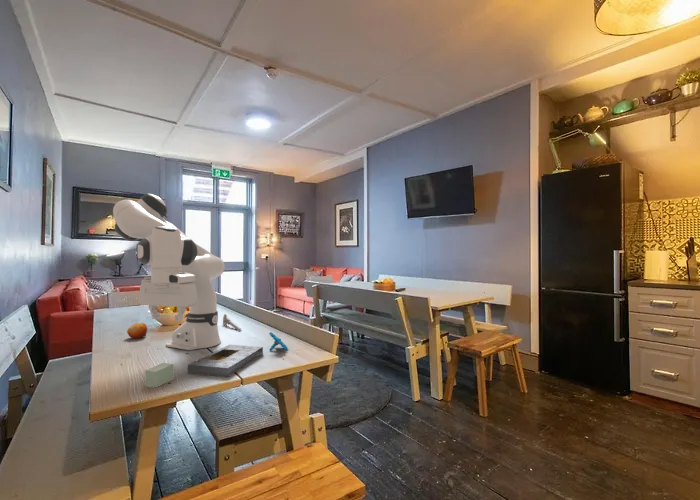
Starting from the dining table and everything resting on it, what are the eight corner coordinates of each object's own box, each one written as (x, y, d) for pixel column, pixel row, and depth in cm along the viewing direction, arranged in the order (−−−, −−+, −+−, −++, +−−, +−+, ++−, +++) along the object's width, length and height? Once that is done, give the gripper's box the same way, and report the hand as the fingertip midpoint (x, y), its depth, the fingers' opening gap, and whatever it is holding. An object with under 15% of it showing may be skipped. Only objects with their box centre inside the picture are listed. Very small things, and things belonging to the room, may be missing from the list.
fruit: (154, 333, 162) (145, 320, 159) (139, 344, 157) (130, 332, 153) (146, 330, 167) (137, 318, 163) (131, 342, 161) (121, 329, 157)
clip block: (145, 386, 103) (145, 370, 103) (162, 378, 110) (162, 362, 110) (156, 388, 102) (156, 371, 102) (173, 379, 109) (173, 363, 109)
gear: (289, 349, 135) (271, 332, 134) (279, 360, 134) (260, 343, 133) (288, 345, 146) (271, 329, 145) (278, 355, 144) (261, 340, 144)
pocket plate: (188, 373, 113) (188, 364, 113) (229, 352, 137) (229, 344, 137) (227, 377, 110) (227, 368, 110) (262, 354, 133) (262, 347, 133)
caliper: (222, 325, 185) (222, 314, 185) (224, 325, 186) (224, 313, 186) (240, 332, 171) (239, 319, 171) (242, 331, 171) (242, 319, 171)
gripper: (133, 276, 108) (133, 319, 108) (184, 277, 102) (185, 323, 102) (150, 275, 114) (150, 316, 114) (199, 276, 108) (200, 319, 108)
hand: (167, 319), depth 108 cm, fingers open, 8 cm apart
